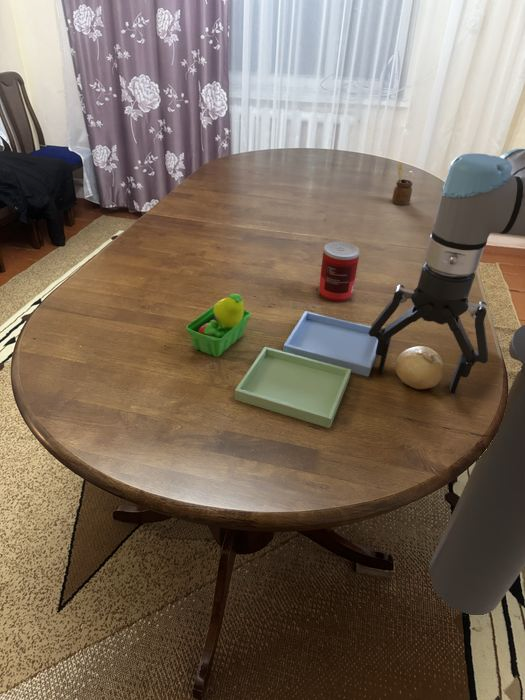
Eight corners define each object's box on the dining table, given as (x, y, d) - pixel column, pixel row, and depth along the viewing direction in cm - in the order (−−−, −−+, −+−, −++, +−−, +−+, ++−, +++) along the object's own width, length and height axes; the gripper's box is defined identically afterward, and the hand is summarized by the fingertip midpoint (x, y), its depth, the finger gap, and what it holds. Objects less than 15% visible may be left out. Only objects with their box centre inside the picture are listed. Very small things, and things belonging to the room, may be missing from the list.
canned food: (339, 282, 110) (346, 239, 104) (359, 298, 105) (367, 253, 98) (311, 288, 108) (316, 244, 101) (330, 305, 102) (336, 259, 95)
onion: (384, 380, 82) (392, 348, 78) (405, 360, 87) (414, 329, 83) (427, 402, 78) (438, 369, 74) (446, 379, 83) (457, 347, 78)
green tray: (349, 378, 82) (351, 369, 81) (329, 428, 72) (331, 419, 71) (264, 355, 87) (264, 346, 85) (234, 399, 77) (234, 390, 75)
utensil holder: (402, 206, 155) (410, 169, 148) (387, 201, 159) (394, 164, 152) (412, 203, 158) (421, 166, 151) (398, 198, 162) (405, 162, 155)
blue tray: (381, 338, 92) (383, 329, 91) (368, 377, 83) (370, 367, 81) (304, 319, 97) (305, 311, 96) (282, 354, 87) (283, 345, 86)
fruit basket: (220, 322, 95) (218, 272, 88) (257, 335, 92) (258, 285, 85) (185, 350, 87) (181, 297, 80) (224, 366, 84) (223, 312, 77)
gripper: (364, 261, 70) (344, 373, 83) (540, 295, 63) (488, 411, 76) (374, 242, 75) (353, 350, 88) (536, 272, 69) (488, 384, 81)
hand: (415, 378), depth 82 cm, fingers open, 12 cm apart
